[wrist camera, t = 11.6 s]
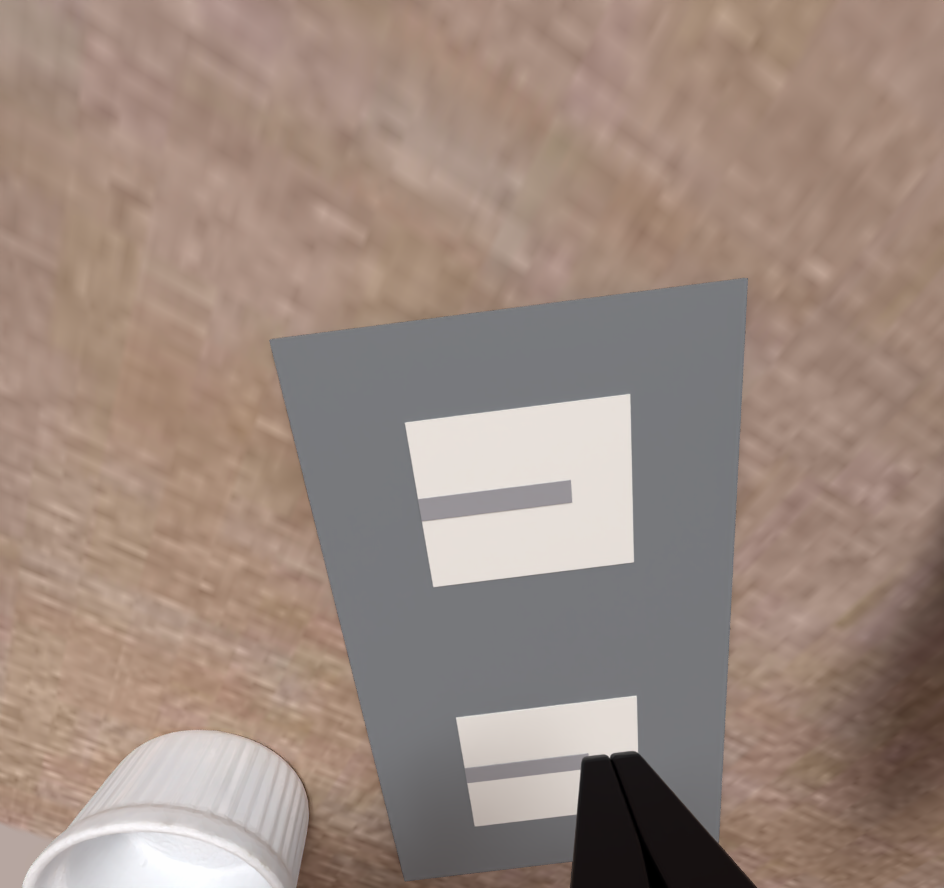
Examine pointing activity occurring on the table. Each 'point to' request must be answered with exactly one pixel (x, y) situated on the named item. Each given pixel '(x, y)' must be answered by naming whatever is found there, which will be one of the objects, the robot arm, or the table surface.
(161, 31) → the table surface
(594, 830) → the robot arm
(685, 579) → the slate mat
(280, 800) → the ramekin
